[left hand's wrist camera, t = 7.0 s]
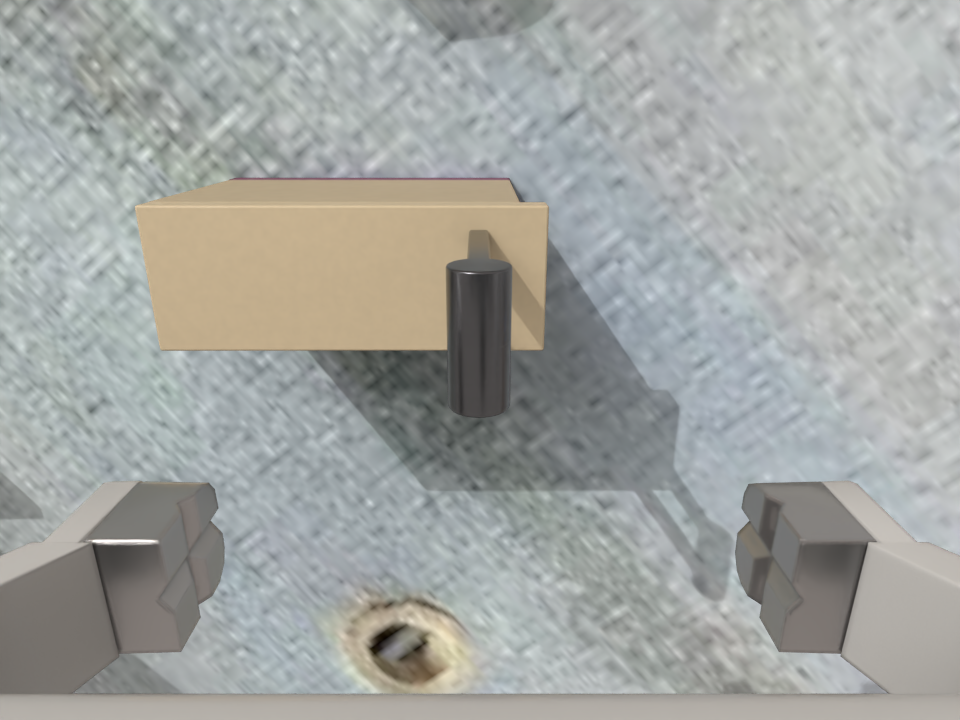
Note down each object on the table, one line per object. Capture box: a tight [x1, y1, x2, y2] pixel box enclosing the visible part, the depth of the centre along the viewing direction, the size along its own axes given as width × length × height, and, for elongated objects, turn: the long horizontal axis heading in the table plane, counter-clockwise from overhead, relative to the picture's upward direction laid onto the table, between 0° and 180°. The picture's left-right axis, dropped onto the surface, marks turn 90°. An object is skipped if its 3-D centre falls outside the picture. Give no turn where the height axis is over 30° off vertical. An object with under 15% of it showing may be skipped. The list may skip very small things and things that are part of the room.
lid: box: [135, 202, 549, 418], centre depth 21 cm, size 15×6×8 cm, turn 90°
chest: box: [150, 178, 519, 202], centre depth 30 cm, size 14×6×10 cm, turn 90°
